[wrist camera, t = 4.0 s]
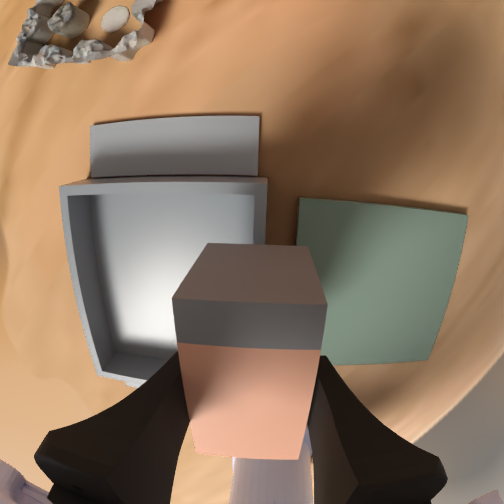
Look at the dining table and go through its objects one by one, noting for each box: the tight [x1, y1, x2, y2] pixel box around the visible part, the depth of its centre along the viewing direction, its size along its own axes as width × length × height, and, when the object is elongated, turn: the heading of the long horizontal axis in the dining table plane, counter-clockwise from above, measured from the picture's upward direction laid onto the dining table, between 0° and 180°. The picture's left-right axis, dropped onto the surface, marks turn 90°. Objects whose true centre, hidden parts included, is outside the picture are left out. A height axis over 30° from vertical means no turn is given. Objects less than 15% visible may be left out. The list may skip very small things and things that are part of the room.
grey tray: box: [59, 116, 268, 388], centre depth 19 cm, size 21×12×3 cm, turn 178°
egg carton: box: [8, 0, 163, 69], centre depth 13 cm, size 11×8×4 cm
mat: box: [296, 197, 468, 365], centre depth 20 cm, size 12×12×1 cm
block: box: [172, 243, 328, 460], centre depth 13 cm, size 8×4×6 cm, turn 179°
